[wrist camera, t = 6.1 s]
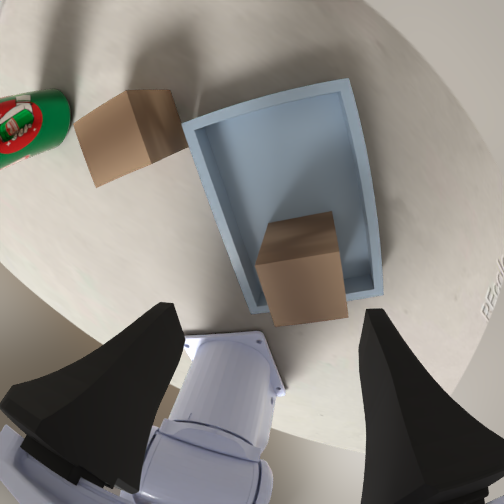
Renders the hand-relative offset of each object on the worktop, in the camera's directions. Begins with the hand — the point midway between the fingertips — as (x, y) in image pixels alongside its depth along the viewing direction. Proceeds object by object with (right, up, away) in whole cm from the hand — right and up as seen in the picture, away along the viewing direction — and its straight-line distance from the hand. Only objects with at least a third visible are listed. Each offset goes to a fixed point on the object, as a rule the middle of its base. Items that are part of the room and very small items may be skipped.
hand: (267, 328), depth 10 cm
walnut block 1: (-7, +11, +6) cm, 14 cm away
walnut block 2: (+3, +3, +8) cm, 9 cm away
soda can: (-16, +14, +7) cm, 22 cm away
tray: (+2, +6, +7) cm, 10 cm away
